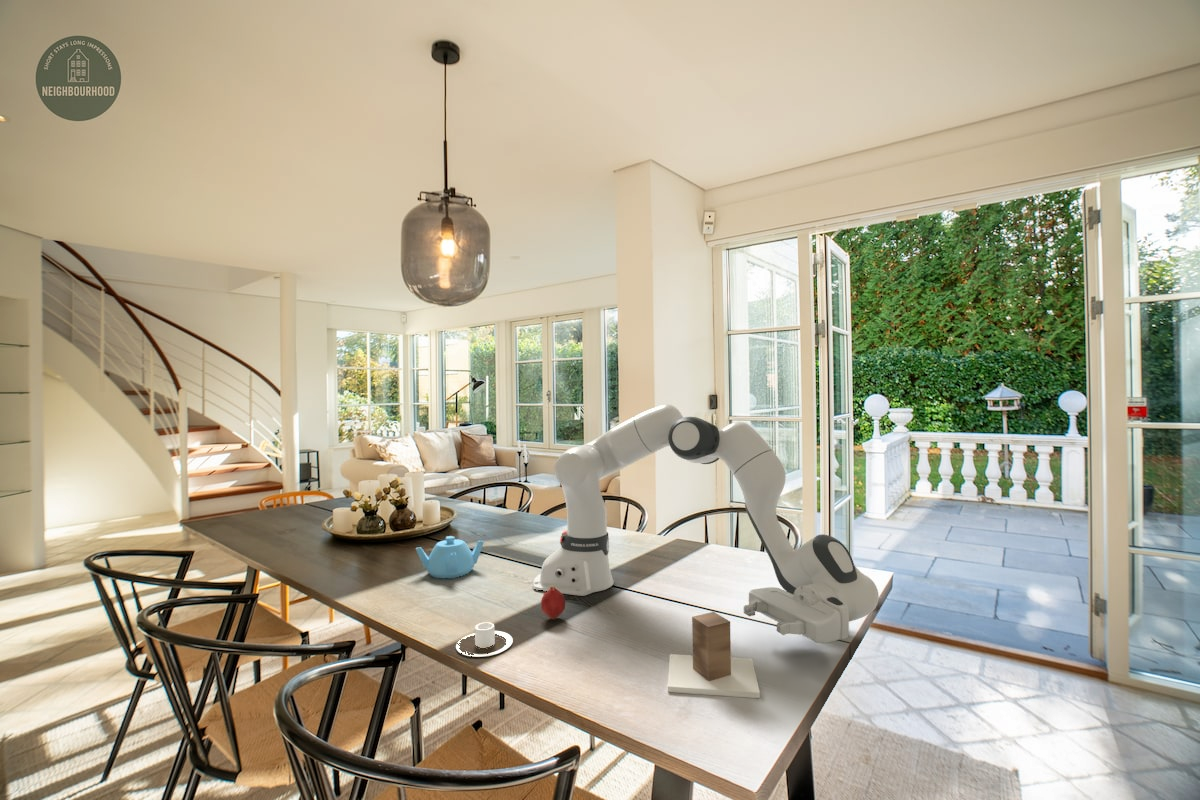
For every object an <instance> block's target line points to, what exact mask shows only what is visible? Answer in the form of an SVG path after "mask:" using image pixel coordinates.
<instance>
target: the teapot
mask: <svg viewBox="0 0 1200 800" xmlns="http://www.w3.org/2000/svg"><path fill="white" fill-rule="evenodd" d="M484 543H485V541H484V540H477V543H476V545H475V546H474V548H473V550H472V551H471V549H470V547H469V546H468V544H467V543H466V542H465V541H464V540H462V539H456V537H455V536H453V535H449V536H448V535H447V536H445V539H444V540H441V541H438V542H437V543H436V544H435V545H434V546H433V549H432V550H431V552H430V553H429V555H428V554H427V553H426V552H425V551H424V549H423V548H422V547H421V546H419V547H416V548H415V551H416V554H417V555H418V557H419V559H420V561H421V564H422V565H423V568H424V570H426V571H427V573H428V574H430V575H429V576H431V577H433V578H435V577H436V578H435V579H439V578H451V579H455V578H454V577H458V578H460V577H459V576H461V577H464V576H466V575H465V574H467V575H468V574H470V572H471V571H472V570H473V569H474V567H475V564H477V563H478V560H479V558H480V554H481V551H482V548H483V545H484ZM463 575H464V576H463Z"/></svg>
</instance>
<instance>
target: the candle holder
mask: <svg viewBox="0 0 1200 800" xmlns="http://www.w3.org/2000/svg"><path fill="white" fill-rule="evenodd" d="M495 634H497V635H499V636H502V637H504V638H505V639H506V642H505V643H506V645H505V644H504V646H503V647H502V648H501V647H500V649H497V650H496V651H492V652H489V653H488V654H487V653H473V654H474V655H471V654H470V655H468V653H467V652H468V651H466V654H465V652H462V651H461V650H460V649H459V648H460V646H459V645H460V644H459V643H461V642H460V641H461V640H462V639H466V638H467V637H470V636H474V635H475V638H474V645H476V646H478V647H480V648H486V647H490V646H492V645H493V646H495V643H496V640H495V639H496V636H495ZM460 639H461V640H460ZM460 639H459V640H458V641H457V643H458V644H459V645H458V644H457V643H456V645H455V649H456V651H457V652H458V653H459V654H461V653H462V654H461V655H463V656H467V657H471V656H472V658H473V657H477V658H480V657H481V658H482V657H484V658H485V657H490V656H494V655H498V654H500V653H502V652H504V651H506V650H508V649H509V648H510V647H511V646H512V645H513V642H514V638H513V637H512V636H511V635H510V634H509V633H508V632H505V631H500V630H495V624H494V623H493V622H489V621H488V622H480V623H477V624H476V625H474V632H473V633H470V634H467V635H466V636H463V637H461V638H460ZM476 646H475V647H476ZM493 646H492V647H493ZM480 648H479V649H480ZM490 648H491V647H490ZM486 649H487V648H486Z"/></svg>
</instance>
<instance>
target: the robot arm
mask: <svg viewBox="0 0 1200 800" xmlns="http://www.w3.org/2000/svg"><path fill="white" fill-rule="evenodd" d="M665 447H670V449H671V450H672V452H673V453H674V454H675V455H676V456H677V457H679V458H680V459H683V460H686V461H687V462H690V463H694V464H700V465H701V464H702V465H711V464H713V463H716V462H717V461H719V460H722V461H723V462H724V464H725V465H726V466H727V467H728V469H729V470H730V472H731V473H732V475H733V476H734V478H735V480H736V481H737V483H738V484H739V487H740V489H741V492H742V495H743V498H744V507H745V510H746V514H747V516H748V518H749V521H750V523H751V524H752V527H753V529H754V530H755V533H756V534H757V537H758V538H759V539H760V542H761V544H762V546H763V548H764V549H765V551H766V553H767V555H768V558H769V559H770V561H771V564H772V566H773V570H774V574H775V576H776V579H777V581H778V583H779V584H780V587H782V588H779V587H777V586H776V587H771V586H770V587H769V586H768V587H762V588H761V587H760V588H755V589H750V591H749V592H748V604H746V605H744V606H743V614H744V615H745V616H748V617H753V616H754V617H755V616H756V612H757V613H760V614H762V615H764V616H766V617H768V618H769V619H771V620H773V621H775V622H777V623H776V625H775V626H776V632H777V633H779V634H780V635H782V636H786V635H788V634H789V635H802V636H804V637H806V638H807V639H810V640H812V641H813V642H815V643H820V644H828V643H832V642H835V641H839V640H844V639H848V637H849V634H850V632H849V630H850V622H853V621H856V620H859V619H862V618H865V617H867V616H868V615H870V614H871V613H872V612H873V611H874V610H876V608H877V606H878V603H879V598H880V597H879V589H878V587H877V585H876V584H875V582H874V580H873V579H871V578H870V577H869V576H868V575H866V574H864V573H863V572H861V571H860V570H859V569H858V568H857V567H856V565H855V563H854V560H853V558H852V556H851V553H850V552H849V550H848V548H847V547H846V546H845V545H844V543H842V542H841V541H840V540H839V539H837V538H835V537H833V536H831V535H828V534H818V535H816V536H814V537H813V538H811V539H810V540H808V541H806V542H805V543H803V544H802V545H801V546H800V547H798V548H796V549H794V547H793V546H792V544H791V542H790V541H789V538H788V537H787V535H786V533H785V531H784V529H783V528H782V525H781V524H780V521H779V519H778V516H777V507H778V502H779V500H780V496H781V494H782V492H783V490H784V487H785V484H786V478H787V477H786V470H785V468H784V464H783V463H782V462H781V460H780V459H779V457H778V456H777V454H776V453H775V452H774V450H773V449H772V447H770V445H769V444H768V443H767V441H766V440H765V439H764V438H763V437H762V436H761V435H760V433H758V432H757V431H756V429H754V428H753V427H752V426H751V425H750V424H748V423H747V422H745V421H735V422H732V423H729V424H727V425H726V426H723V428H718V427H717V425H715V424H712V423H711V422H710V421H707V420H704V419H703V418H699V417H695V416H685V417H684V416H683V415H682V413H681V412H680V410H679V409H678V408H677V407H676V406H674V405H672V404H669V403H665V404H661V405H657V406H655V407H652V408H649V409H646V410H645V411H643V412H639V413H638V414H636V415H634V416H633V417H630V418H629V419H627V420H625V421H623V422H621V423H619V424H618V425H616V426H614V427H611V428H610V429H609V430H607V431H606V432H605V433H603V434H601V435H600V436H598V437H596V438H595V439H593V440H591V441H589V442H586V443H583V444H581V445H578V446H574V447H570V448H568V449H567V450H565V451H564V452H563V453H561V454H560V455H559V457H558V458H557V460H556V461H555V464H554V467H553V468H554V476H555V478H556V480H557V481H558V483H559V484H560V485H561V489H562V492H563V497H564V500H565V507H566V523H567V524H566V526H567V527H566V528H567V530H564V531H563V532H562V533H561V536H560V538H559V543H560V547H558V548H557V549H556V550H555V551H554V552H553V553H551V554H550V555H549V556H547V557H546V559H544V561H543V563H542V566H541V570H540V573H539V574H537V576H536V577H535V578H534V579H533V581H532V588H534V589H536V590H535V591H538V590H543V591H542V592H546V591H548V590H550V588H551V586H554V587H555V588H556V589H557V590H559V591H560V592H561V593H562V594H563V595H564V594H565V595H573V596H580V597H581V596H582V597H583V596H584V597H585V596H587V595H590V594H592V593H596V592H601V591H602V592H603V591H605V590H607V589H609V588H611V587H612V586H613V585H614V579H613V576H612V572H611V567H610V566H611V565H610V561H609V552H610V538H609V533H608V530H607V529H608V526H607V525H608V523H607V505H606V502H605V501H604V498H603V496H602V490H601V488H600V487H601V486H600V485H601V484H600V481H601V480H603V479H605V478H606V477H609V476H610V475H611V476H612V475H613V474H615V473H616V472H619V471H620V470H622V469H624V468H627V467H628V466H630V465H632V464H634V463H637V462H638V461H640V460H642V459H644V458H646V457H649V456H650V455H652V454H654V453H655V452H658V451H659V450H662V449H664V448H665ZM534 589H533V590H534Z"/></svg>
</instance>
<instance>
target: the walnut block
mask: <svg viewBox="0 0 1200 800" xmlns="http://www.w3.org/2000/svg"><path fill="white" fill-rule="evenodd" d="M691 617H692V618H691V622H692V623H691V625H692V626H691V627H692V628H691V629H692V631H691V632H692V633H691V634H692V655H693V669H694V670H695V671H696V672H698V673H699V674H700V675H701V676H703V677H704V678H705V679H706V680H708V681H712V680H716V679H719V678H722V677H726V676H729V675H731V658H732V656H731V655H732V653H731V652H732V650H731V647H732V645H731V643H732V642H731V621H730V620H728V619H727V618H725V617H724V616H722V615H720V614H718V613H716V612H715V611H711V612H707V613H703V614H698V615H693V616H691Z"/></svg>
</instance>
